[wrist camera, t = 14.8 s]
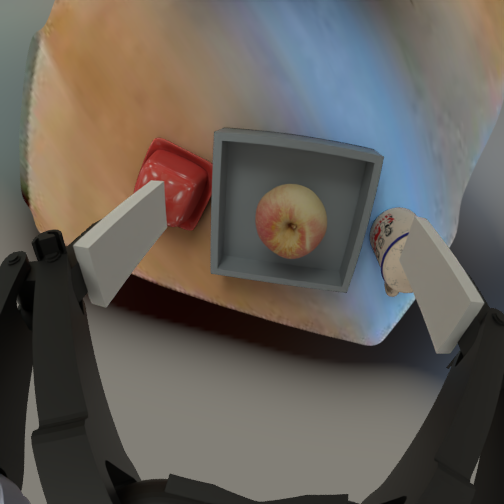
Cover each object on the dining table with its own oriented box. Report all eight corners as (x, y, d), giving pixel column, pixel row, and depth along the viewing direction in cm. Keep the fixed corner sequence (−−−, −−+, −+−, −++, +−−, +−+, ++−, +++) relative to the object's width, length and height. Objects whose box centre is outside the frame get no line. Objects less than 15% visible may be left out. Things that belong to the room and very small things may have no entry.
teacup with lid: (376, 199, 37) (402, 237, 27) (428, 211, 36) (463, 250, 26) (355, 269, 43) (368, 320, 33) (404, 276, 43) (425, 325, 33)
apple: (296, 246, 41) (295, 279, 35) (247, 210, 40) (236, 237, 33) (337, 204, 37) (346, 230, 30) (286, 163, 35) (283, 179, 29)
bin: (218, 255, 45) (210, 273, 41) (224, 127, 35) (214, 132, 31) (342, 273, 44) (346, 292, 40) (373, 149, 34) (383, 156, 29)
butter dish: (227, 167, 38) (210, 186, 31) (194, 230, 44) (175, 259, 37) (158, 132, 37) (127, 143, 29) (134, 197, 43) (105, 219, 35)
